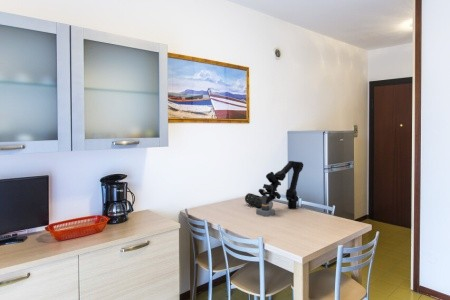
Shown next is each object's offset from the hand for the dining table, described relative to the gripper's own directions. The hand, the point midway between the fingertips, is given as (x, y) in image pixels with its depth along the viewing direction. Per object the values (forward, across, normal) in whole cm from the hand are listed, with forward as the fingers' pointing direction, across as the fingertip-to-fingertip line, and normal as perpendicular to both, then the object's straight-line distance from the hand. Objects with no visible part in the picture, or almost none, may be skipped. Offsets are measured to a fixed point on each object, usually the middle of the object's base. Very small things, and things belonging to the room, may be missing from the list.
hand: (264, 202), depth 235 cm
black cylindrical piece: (-2, -19, +17) cm, 26 cm away
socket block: (+6, 0, +8) cm, 10 cm away
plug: (+3, 0, +5) cm, 6 cm away
